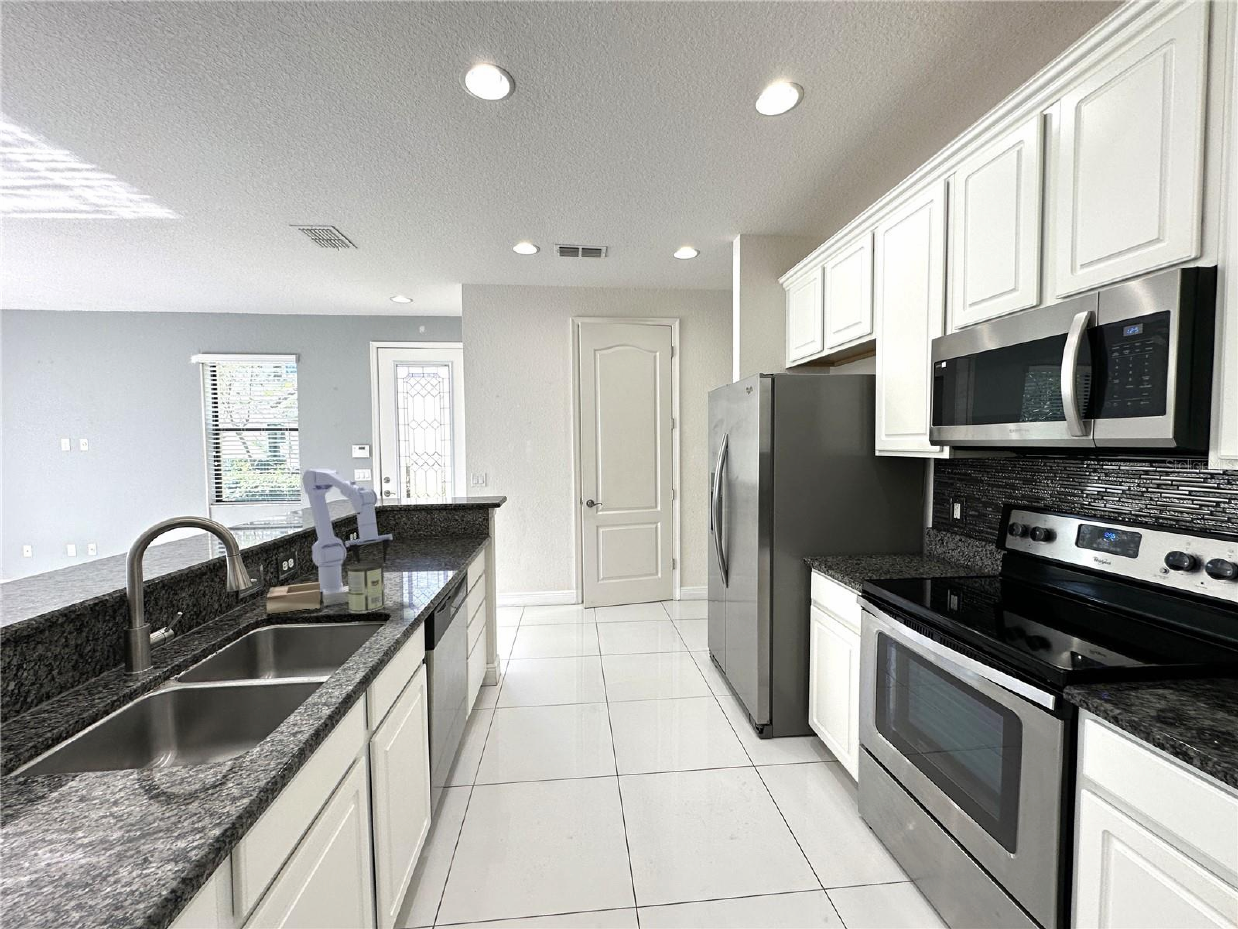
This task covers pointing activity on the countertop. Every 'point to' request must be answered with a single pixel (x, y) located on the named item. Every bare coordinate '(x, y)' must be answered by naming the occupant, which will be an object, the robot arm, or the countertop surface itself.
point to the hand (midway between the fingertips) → (372, 564)
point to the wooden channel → (293, 597)
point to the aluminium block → (335, 595)
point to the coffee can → (365, 586)
